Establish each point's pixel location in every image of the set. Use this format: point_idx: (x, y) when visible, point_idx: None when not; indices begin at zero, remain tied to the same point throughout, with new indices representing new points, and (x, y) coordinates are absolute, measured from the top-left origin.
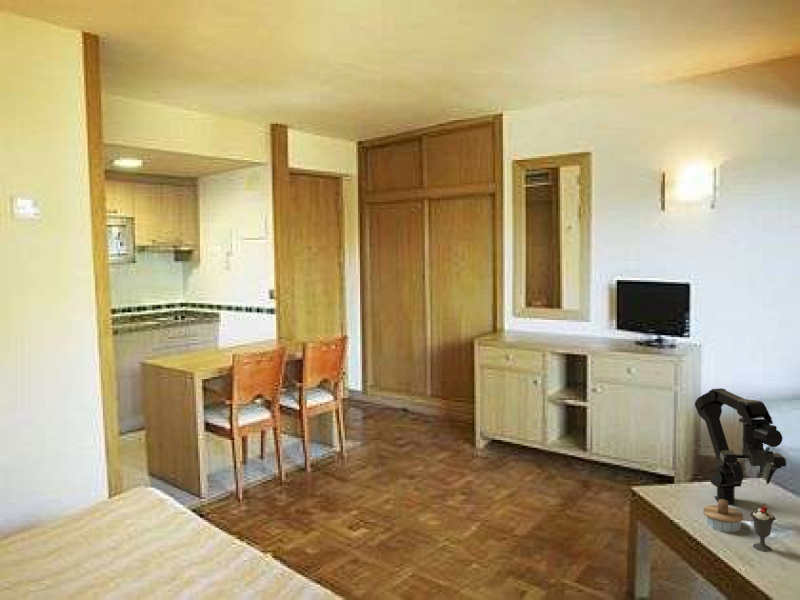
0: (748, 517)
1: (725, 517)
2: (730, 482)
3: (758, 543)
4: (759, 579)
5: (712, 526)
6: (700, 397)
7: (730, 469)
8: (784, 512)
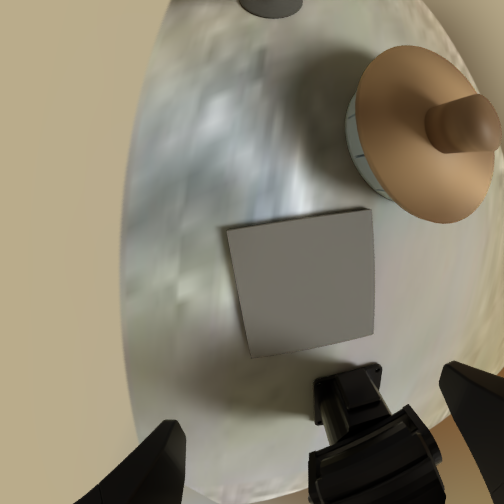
0: (297, 262)
1: (430, 73)
2: (379, 438)
3: (282, 14)
4: None
5: None
6: None
7: (400, 495)
8: (151, 373)
